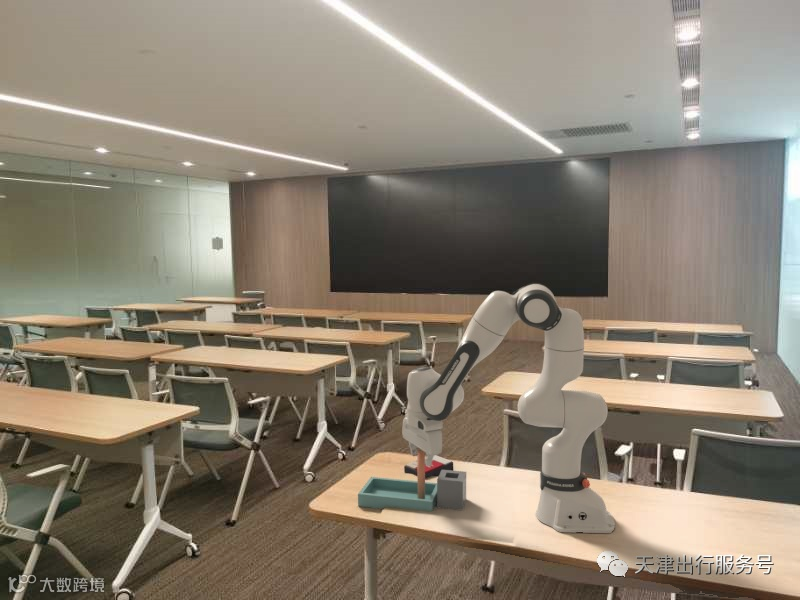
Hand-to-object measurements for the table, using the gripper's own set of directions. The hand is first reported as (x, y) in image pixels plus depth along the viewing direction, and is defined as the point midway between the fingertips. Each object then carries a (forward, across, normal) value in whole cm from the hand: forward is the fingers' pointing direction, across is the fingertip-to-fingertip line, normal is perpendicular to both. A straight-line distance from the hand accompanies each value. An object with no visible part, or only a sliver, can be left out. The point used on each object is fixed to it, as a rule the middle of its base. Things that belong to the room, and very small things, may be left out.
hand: (421, 460), depth 176 cm
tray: (+14, -5, -5) cm, 16 cm away
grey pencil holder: (+14, +6, +8) cm, 17 cm away
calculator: (+15, -21, +15) cm, 30 cm away
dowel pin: (+13, 0, 0) cm, 13 cm away
